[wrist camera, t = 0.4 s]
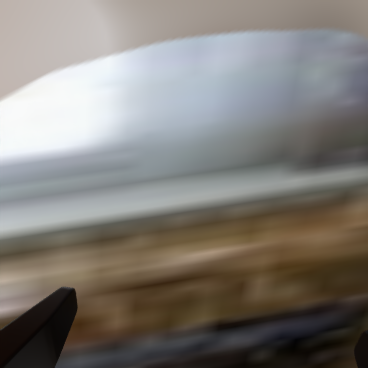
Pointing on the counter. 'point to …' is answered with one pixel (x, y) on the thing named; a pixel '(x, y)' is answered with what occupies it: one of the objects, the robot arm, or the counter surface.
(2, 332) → the robot arm
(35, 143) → the counter surface
